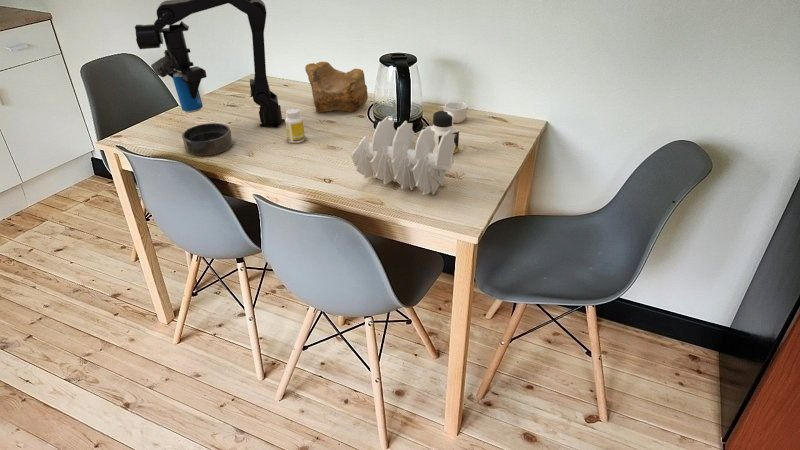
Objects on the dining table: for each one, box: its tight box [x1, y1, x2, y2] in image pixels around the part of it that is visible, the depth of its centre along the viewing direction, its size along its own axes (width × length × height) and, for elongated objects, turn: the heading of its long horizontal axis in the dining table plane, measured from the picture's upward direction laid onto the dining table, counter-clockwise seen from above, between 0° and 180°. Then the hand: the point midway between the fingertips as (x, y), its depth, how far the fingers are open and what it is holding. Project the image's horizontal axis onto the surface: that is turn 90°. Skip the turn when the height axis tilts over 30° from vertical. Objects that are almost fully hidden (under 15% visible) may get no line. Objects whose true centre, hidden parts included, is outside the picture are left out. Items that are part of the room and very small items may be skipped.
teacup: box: [438, 100, 469, 124], centre depth 181 cm, size 10×8×5 cm
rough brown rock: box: [304, 61, 369, 113], centre depth 189 cm, size 23×17×15 cm
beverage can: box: [172, 72, 204, 114], centre depth 170 cm, size 6×6×12 cm
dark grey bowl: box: [181, 122, 234, 156], centre depth 166 cm, size 14×14×5 cm
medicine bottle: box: [430, 110, 460, 154], centre depth 159 cm, size 7×7×12 cm
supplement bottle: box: [284, 108, 306, 144], centre depth 168 cm, size 5×5×10 cm
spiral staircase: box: [350, 116, 456, 196], centre depth 141 cm, size 18×18×25 cm
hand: (188, 95), depth 170 cm, fingers closed on beverage can, 6 cm apart
